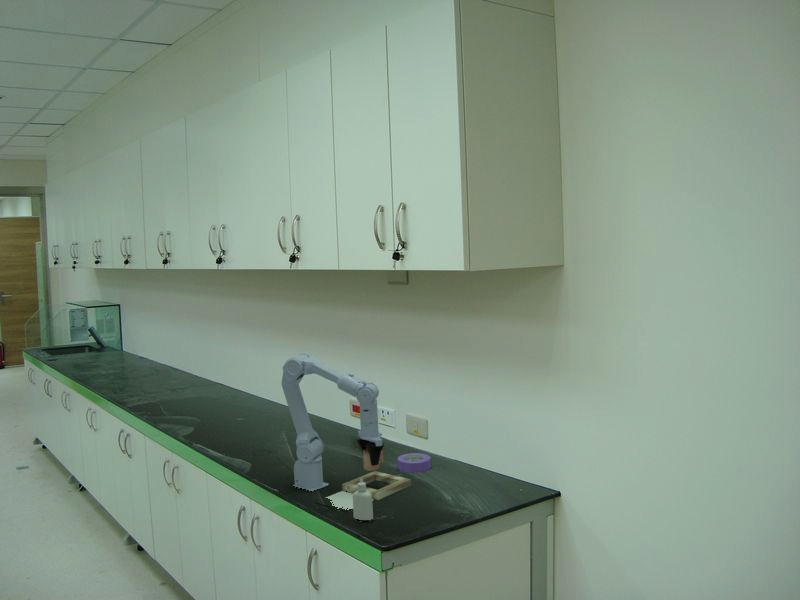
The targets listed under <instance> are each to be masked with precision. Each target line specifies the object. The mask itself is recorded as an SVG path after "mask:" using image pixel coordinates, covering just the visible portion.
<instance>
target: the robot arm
mask: <svg viewBox="0 0 800 600" xmlns="http://www.w3.org/2000/svg"><path fill="white" fill-rule="evenodd" d="M307 375H318V376H320V377H322V378H323V379H326V380H328V381H331V382H333V383H335V384H337V385H336V386H337V388H338V390H341V391H342V392H345V393H347V394H348V395H350V396H352V397H354V398H356V400H357V402H358V403H359V419H360V423H359V424H360V430H357V431H358V432H357V433H358V434H357V435H358V437H360V439H356V442H357V444H358V445H359V447H360V451H361V454H362V455H363V450H364V449H366V448H367V449H368V452H369V455H370V461H371V465H372V466H375V465H378V463H379V458H380V453H381V451H383V448H384V446H385V444H384V443H383V439H382V438H381V437H382V436H383V433H381V432H379V413H378V411H379V409H378V400H377V398H378V397H379V394H380V391H379V387H378V386H377V385H376V384H374V383H373V382H367V381H366V380H361V379H360V378H358V377H355V376H354V375H355V374H353V373H352V372H349V373H348V372H344V373H343V374H342V373H341V372H338V371H337V370H335V369H333V368H331V367H330V366H329V365H326V364H324V363H323V362H322V361H319V360H318V359H317V358H316V357H315V356H310V355H309V354H308V353H301V354H298V355H297V356H294V357H290V358H288V359H287V360H286V361H285V363H284V364H283V366H282V377H281V378H282V379H281V383H280V384H281V387H282V390H283V394H284V397H285V400H286V403H287V406H288V410H289V414H290V416H291V419H292V422H293V426H294V428H295V431H296V435H297V436H296V440H295V445H296V457H297V460H296V461H295V463H294V465H293V474H294V475H293V476H294V484H293V485H292V487H293V486H295V487H294V488H296V487H298V488H297V489H300V488H302V489H301V490H303V489H306V490H305V491H307V490H309V491H308V492H310V491H312V492H315V491H317V489H318V490H320V489H323V488H325V487H328V486H330V483H328V482H325V481H324V477H323V476H324V475H323V474H324V473H323V460H322V459H323V457H322V453H323V452H324V448H325V445H324V442H323V440H322V439H321V438H320V436H319V434H318V432H317V431H316V430H315V429H313V426H312V423H311V420H310V417H309V412H308V410H307V407H306V406H307V405H306V403H305V400H304V397H303V395H302V391H301V388H300V383H301V381H302V380H303V379H304V376H307ZM379 464H380V463H379ZM314 490H315V491H314Z"/></svg>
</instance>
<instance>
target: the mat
mask: <svg viewBox="0 0 800 600" xmlns="http://www.w3.org/2000/svg"><path fill="white" fill-rule="evenodd" d="M325 498H328V499H330V500H332V501H330V502H331V503H332V502H333V503H332V506H335V507H338V508H337V509H339V508H342V507H343V508H342V509H345V510H346V509H347V508H348V509H347V510H349V509H353V493H350V492H346V491H343V490H341V491H338V492H336V493H333V494H331V495H329V496H326V497H325ZM373 501H375V499H373V498H372V502H373ZM333 504H334V505H333Z"/></svg>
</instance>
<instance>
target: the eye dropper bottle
mask: <svg viewBox="0 0 800 600" xmlns="http://www.w3.org/2000/svg"><path fill="white" fill-rule="evenodd" d="M357 485H358V491H356V492H354V493H352V494H353V510H352V511H353V512H352V513H353V519H354V518H355V519H359V520H371V519H372V520H374V511H373V501H372V499H373V498H372V495H371V493H370V492H368V491H366V487H367V484H366V483H365V482H363V479H360V482H359V483H358V484H357ZM355 519H354V520H355ZM372 520H371V521H372Z"/></svg>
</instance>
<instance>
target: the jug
mask: <svg viewBox="0 0 800 600" xmlns="http://www.w3.org/2000/svg"><path fill="white" fill-rule="evenodd" d="M362 456H363V458H362V459H363V470H365V471H371V472H374V471H377V470H379V469H380V463H383V462H384V450H382V451H381V453H380V458H379V463H378V465H375V466H372V465H371V461H370V455H369V452H368V449H367V448H366V449H364V450H363V454H362Z"/></svg>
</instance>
